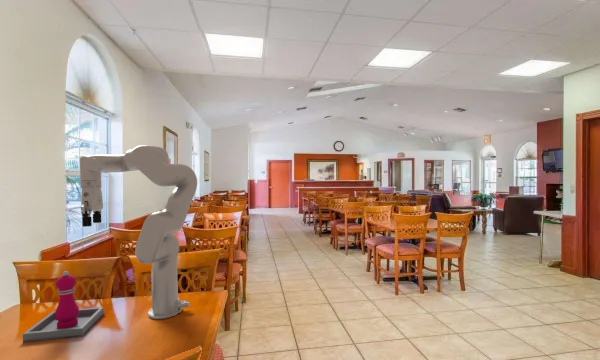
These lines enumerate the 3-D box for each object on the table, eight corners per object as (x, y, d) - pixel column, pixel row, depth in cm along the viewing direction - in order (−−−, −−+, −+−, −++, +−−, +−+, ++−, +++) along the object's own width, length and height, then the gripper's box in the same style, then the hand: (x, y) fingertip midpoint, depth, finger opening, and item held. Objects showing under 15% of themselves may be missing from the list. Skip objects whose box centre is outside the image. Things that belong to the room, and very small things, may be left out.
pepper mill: (66, 330, 114) (65, 274, 114) (49, 329, 116) (47, 273, 115) (84, 321, 121) (82, 268, 121) (68, 320, 123) (66, 267, 122)
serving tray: (103, 313, 129) (103, 307, 129) (82, 336, 111) (82, 328, 111) (53, 318, 126) (52, 311, 126) (22, 342, 108) (22, 334, 108)
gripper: (91, 185, 130) (93, 227, 131) (108, 183, 147) (109, 221, 148) (71, 185, 129) (72, 228, 129) (90, 184, 146) (91, 221, 146)
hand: (92, 224), depth 138 cm, fingers open, 9 cm apart
